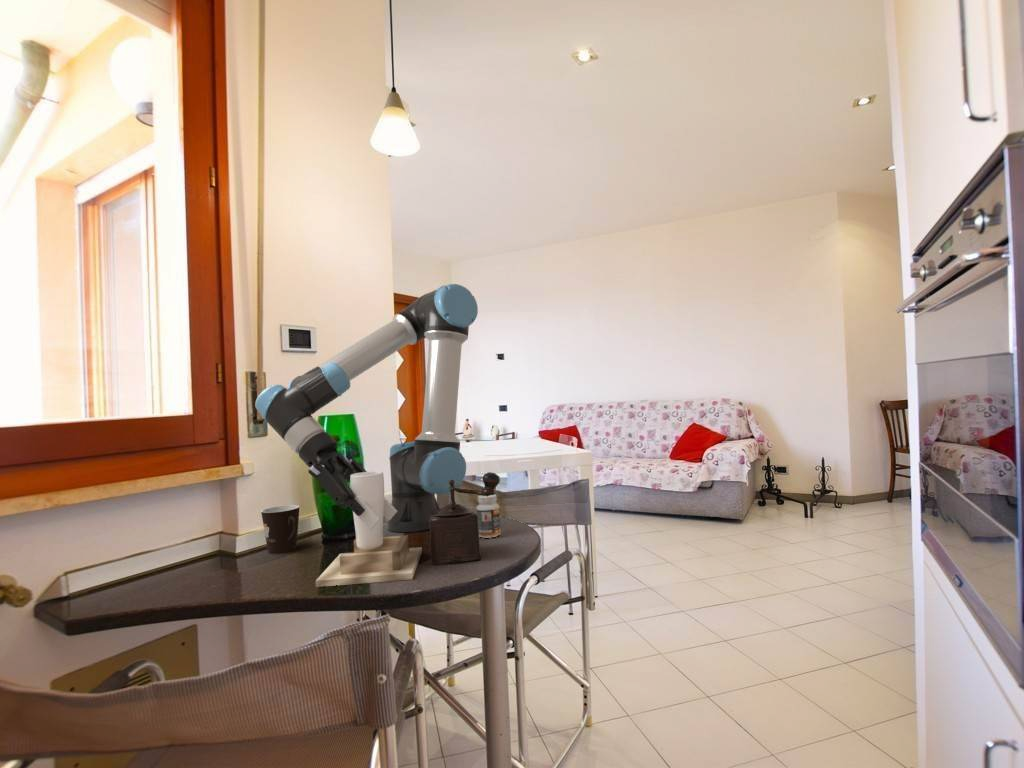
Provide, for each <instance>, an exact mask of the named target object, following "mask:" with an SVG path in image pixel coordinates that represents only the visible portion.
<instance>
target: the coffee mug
mask: <svg viewBox="0 0 1024 768" xmlns="http://www.w3.org/2000/svg"><path fill="white" fill-rule="evenodd" d="M300 508H301V507H300V505H297V504H287V505H286V504H285V505H284V504H283V505H277V506H270V507H267V508H264V509H261V510H260V513H261V519H262V524H263V525H262V526H263V530H264V536H265V542H266V543H265V544H266V548H267V553H268V554H269V555H270V554H271V555H275V554H276V555H279V554H285V553H289V552H293V551H295V550H296V549H297V548H298V547H297V546H298V533H299V522H300V521H299V519H300Z"/></svg>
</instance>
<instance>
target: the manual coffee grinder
mask: <svg viewBox="0 0 1024 768" xmlns="http://www.w3.org/2000/svg"><path fill="white" fill-rule="evenodd" d="M500 482H501V479H500V476H499V475H498V474H497V473H495V472H492V471H491V472H486V473H484V474H483V476H482V483H483V484H484V486H483V487H484V488H483V490H482V491H480V490H476V489H468V488H467V489H466V488H458V487H457V488H455V486H454V483H455V481H454V480H452V479H451V480H450V481H449V484H450V486H449V490H450V492H449V495H450V497H449V498H450V502H449V504H446V505H444V506H443V507H440V510H435V511H431V513H430V519H429V523H430V529H429V534H430V549H431V551H430V552H431V553H430V554H431V557H430V559H431V560H430V563H431V565H432V566H438V565H439V564H441V565H450V564H449V563H452V564H460V563H464V562H473V561H478V560H481V559H482V558H481V557H482V554H481V547H480V546H481V545H480V537H479V530H478V515H477V511H476V508H475V507H467V506H466V505H464V504H460V503H456V498H455V492H456V493H460V494H461V493H463V494H469V495H470V494H471V495H478V496H480V495H482V496H487V497H488V496H490V495H496V491H495V490H496V487H497V486H498V485H499V484H500ZM459 562H460V563H459ZM439 566H440V565H439Z"/></svg>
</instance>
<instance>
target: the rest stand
mask: <svg viewBox="0 0 1024 768" xmlns="http://www.w3.org/2000/svg"><path fill="white" fill-rule="evenodd" d="M409 545H410V544H409V535H405V534H404V535H394V536H383V544H382V545H381V546H379V547H377V548H373V549H360V548H358V547H357V545H356V538H355V539H354V540H353V552H344V553H339V554H338V556H337V557H335V559H334V560H333V561H332V562H331V563H330V564H329V565H328V566H327V568H325V570H323V572H322V573H321V574H320V575H319V576H318V577H317V578H316V580H315V588H322V587H323V588H324V586H325V587H334V586H336V585H337V586H347V585H358V584H371V583H382V582H395V581H397V582H398V581H408V580H414V575H415V573H416V570H417V567H418V565H419V561H420V559H421V556H422V553H423V550H422V549H423V548H422V547H421V546H419V547H410V546H409Z"/></svg>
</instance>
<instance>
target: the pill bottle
mask: <svg viewBox="0 0 1024 768" xmlns="http://www.w3.org/2000/svg"><path fill="white" fill-rule="evenodd" d="M497 501H498V497H497V494H495V495H490V496H488V497H487V496H482V495H478V496H477V502H478V505H477V506H476V508H475V509H476V511H477V515H478V530H479V536H480V537H493V536H497V535H500V534H501V535H502V528H501V527H502V525H501V510H500V508H501V507H500V504H499V503H497ZM501 535H500V536H501ZM480 537H479V538H480Z"/></svg>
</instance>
